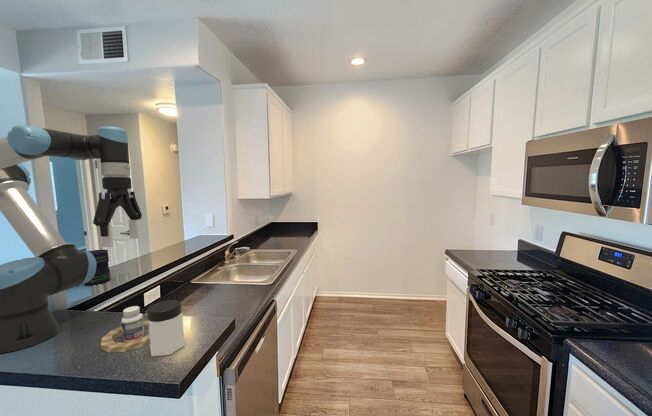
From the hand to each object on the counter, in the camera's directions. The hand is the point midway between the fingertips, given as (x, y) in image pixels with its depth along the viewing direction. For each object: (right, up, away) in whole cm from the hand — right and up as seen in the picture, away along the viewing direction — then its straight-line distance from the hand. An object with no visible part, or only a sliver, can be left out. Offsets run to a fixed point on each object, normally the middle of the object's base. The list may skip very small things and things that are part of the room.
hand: (122, 242), depth 92 cm
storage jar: (-43, -25, +43) cm, 65 cm away
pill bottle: (+9, -27, -8) cm, 30 cm away
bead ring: (+10, -27, -8) cm, 30 cm away
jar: (+23, -28, -14) cm, 38 cm away
